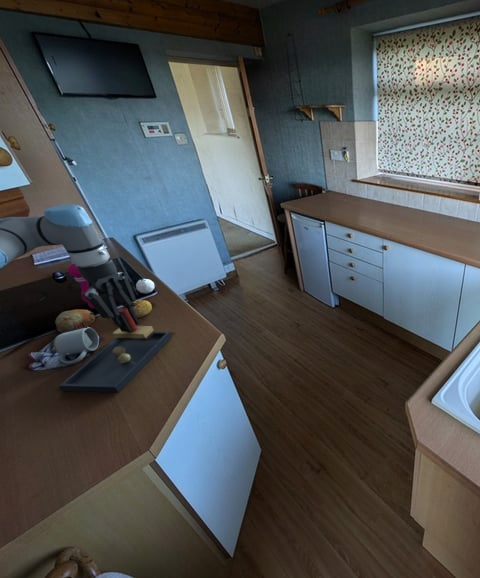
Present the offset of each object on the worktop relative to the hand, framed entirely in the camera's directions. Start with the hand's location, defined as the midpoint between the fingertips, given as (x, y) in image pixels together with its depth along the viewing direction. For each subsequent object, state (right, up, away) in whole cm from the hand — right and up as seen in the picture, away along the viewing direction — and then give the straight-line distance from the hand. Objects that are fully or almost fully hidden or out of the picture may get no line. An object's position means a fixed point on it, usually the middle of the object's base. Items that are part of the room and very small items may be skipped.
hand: (130, 327), depth 94 cm
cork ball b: (+2, -9, -4) cm, 10 cm away
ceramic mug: (-16, -9, +1) cm, 18 cm away
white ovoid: (-20, +14, +30) cm, 38 cm away
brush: (0, -3, +2) cm, 4 cm away
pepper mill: (-33, +6, +24) cm, 41 cm away
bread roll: (-30, -1, +13) cm, 32 cm away
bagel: (-14, +3, +19) cm, 24 cm away
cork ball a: (-2, -7, -2) cm, 8 cm away
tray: (0, -10, -2) cm, 11 cm away
